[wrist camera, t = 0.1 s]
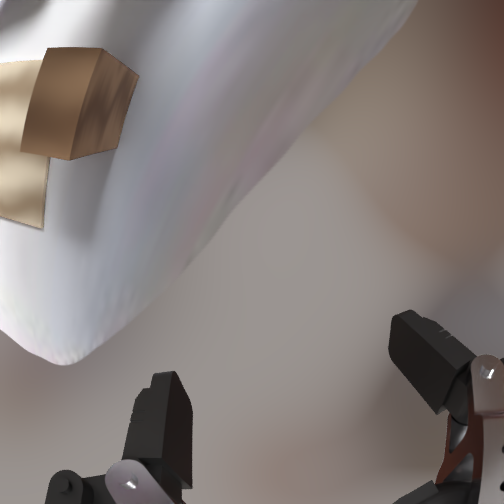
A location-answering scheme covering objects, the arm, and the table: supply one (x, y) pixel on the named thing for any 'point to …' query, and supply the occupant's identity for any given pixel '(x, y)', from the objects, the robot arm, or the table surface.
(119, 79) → the walnut block
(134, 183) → the table surface
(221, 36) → the table surface
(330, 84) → the table surface
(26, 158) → the beige cloth mat
